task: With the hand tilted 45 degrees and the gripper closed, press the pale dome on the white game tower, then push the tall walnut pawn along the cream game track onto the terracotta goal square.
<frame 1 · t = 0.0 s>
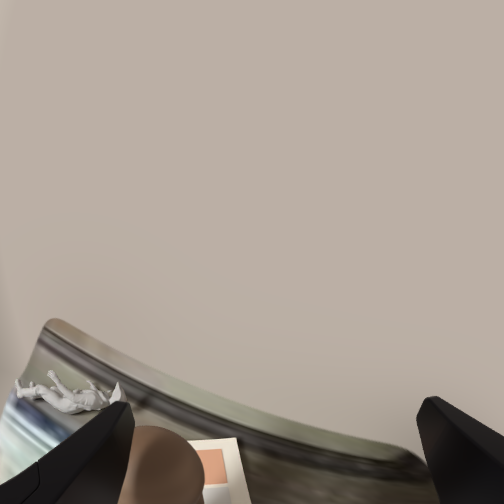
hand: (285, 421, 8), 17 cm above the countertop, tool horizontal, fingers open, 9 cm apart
soldier figure: (74, 410, 26), on the countertop
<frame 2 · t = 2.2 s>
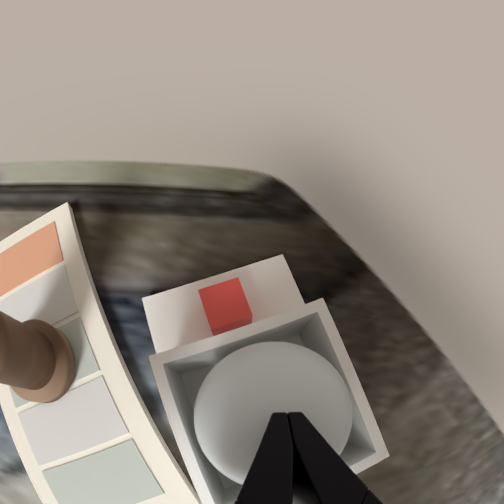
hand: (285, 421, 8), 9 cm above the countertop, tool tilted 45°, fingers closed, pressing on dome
game track: (55, 374, 17), on the countertop
dome: (273, 416, 11), point 6 cm above the countertop, slide at 0.8 cm, touching gripper
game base: (252, 389, 17), on the countertop
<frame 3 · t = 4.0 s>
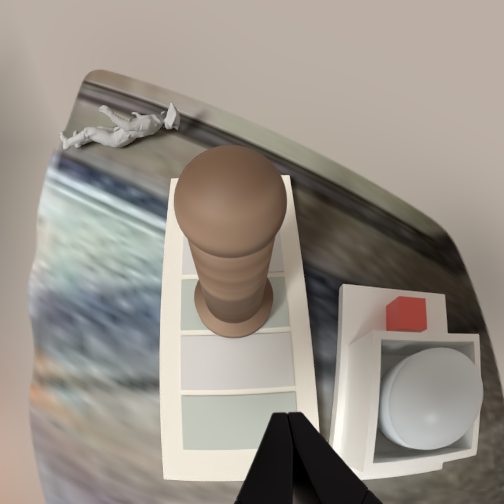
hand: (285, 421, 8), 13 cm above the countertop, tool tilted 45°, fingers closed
pawn: (232, 258, 16), point 8 cm above the countertop, slide at 0.0 cm
game track: (234, 314, 22), on the countertop
dome: (434, 399, 15), point 6 cm above the countertop, slide at 1.3 cm
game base: (392, 383, 20), on the countertop
soldier figure: (122, 144, 30), on the countertop
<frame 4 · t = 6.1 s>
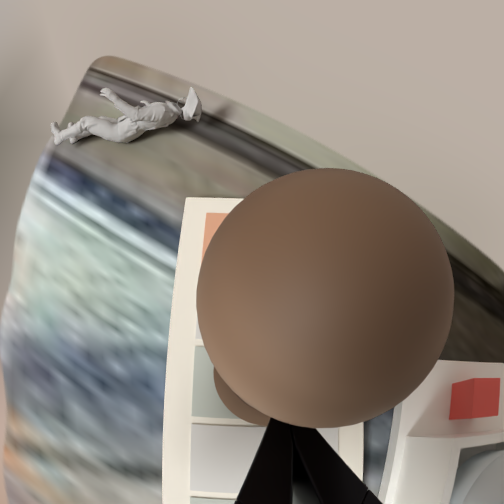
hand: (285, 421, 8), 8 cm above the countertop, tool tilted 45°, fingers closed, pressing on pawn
pawn: (286, 351, 9), point 8 cm above the countertop, slide at 0.4 cm, touching gripper
game track: (264, 394, 16), on the countertop
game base: (445, 471, 13), on the countertop
soldier figure: (128, 139, 24), on the countertop
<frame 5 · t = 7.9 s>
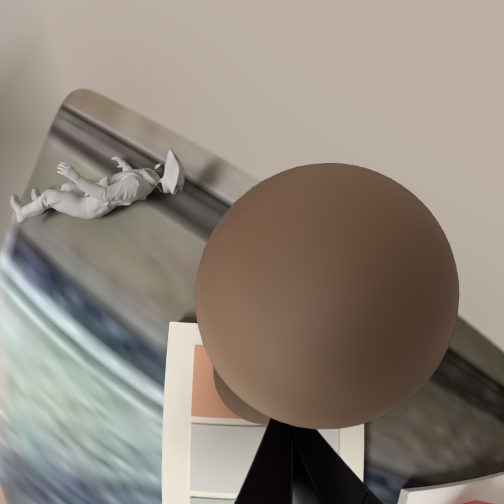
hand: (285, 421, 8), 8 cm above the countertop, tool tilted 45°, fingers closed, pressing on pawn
pawn: (286, 350, 9), point 8 cm above the countertop, slide at 8.5 cm, touching gripper
soldier figure: (101, 209, 21), on the countertop
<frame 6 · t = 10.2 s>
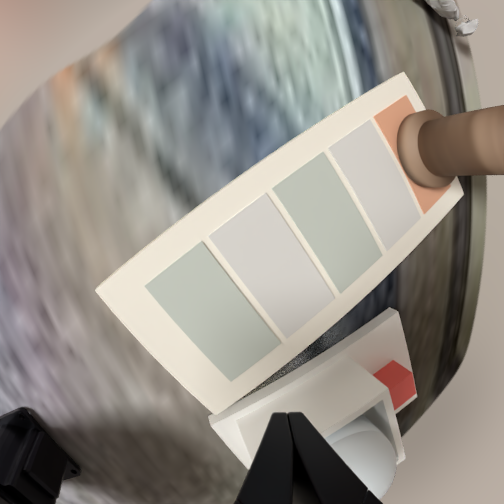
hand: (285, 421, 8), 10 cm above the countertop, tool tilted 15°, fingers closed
game track: (318, 228, 18), on the countertop
dome: (345, 469, 15), point 6 cm above the countertop, slide at 1.3 cm
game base: (326, 407, 21), on the countertop
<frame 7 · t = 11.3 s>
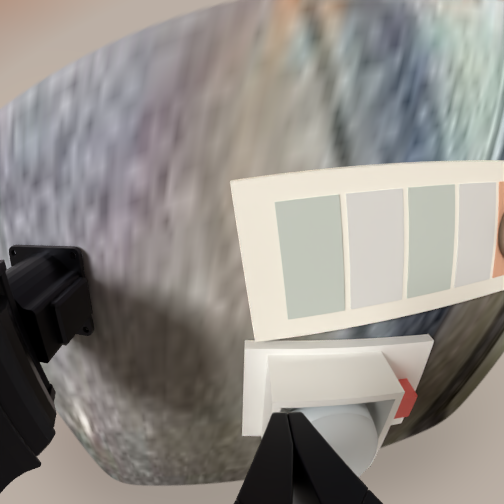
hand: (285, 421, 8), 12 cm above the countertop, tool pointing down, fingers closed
game track: (418, 238, 19), on the countertop
dome: (330, 444, 17), point 6 cm above the countertop, slide at 1.3 cm
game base: (334, 387, 23), on the countertop
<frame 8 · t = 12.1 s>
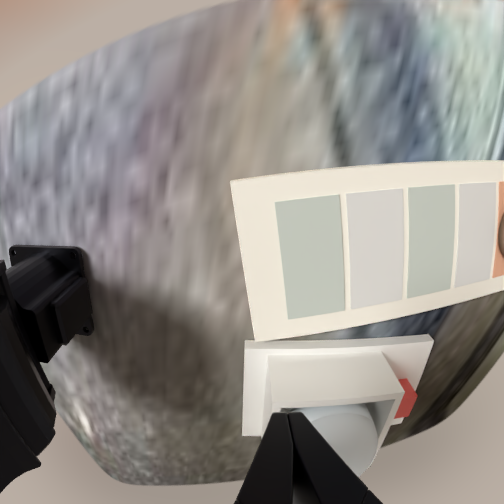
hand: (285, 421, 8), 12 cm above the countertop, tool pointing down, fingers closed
game track: (418, 238, 19), on the countertop
dome: (330, 444, 17), point 6 cm above the countertop, slide at 1.3 cm
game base: (334, 387, 23), on the countertop
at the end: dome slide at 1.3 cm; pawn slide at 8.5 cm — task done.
